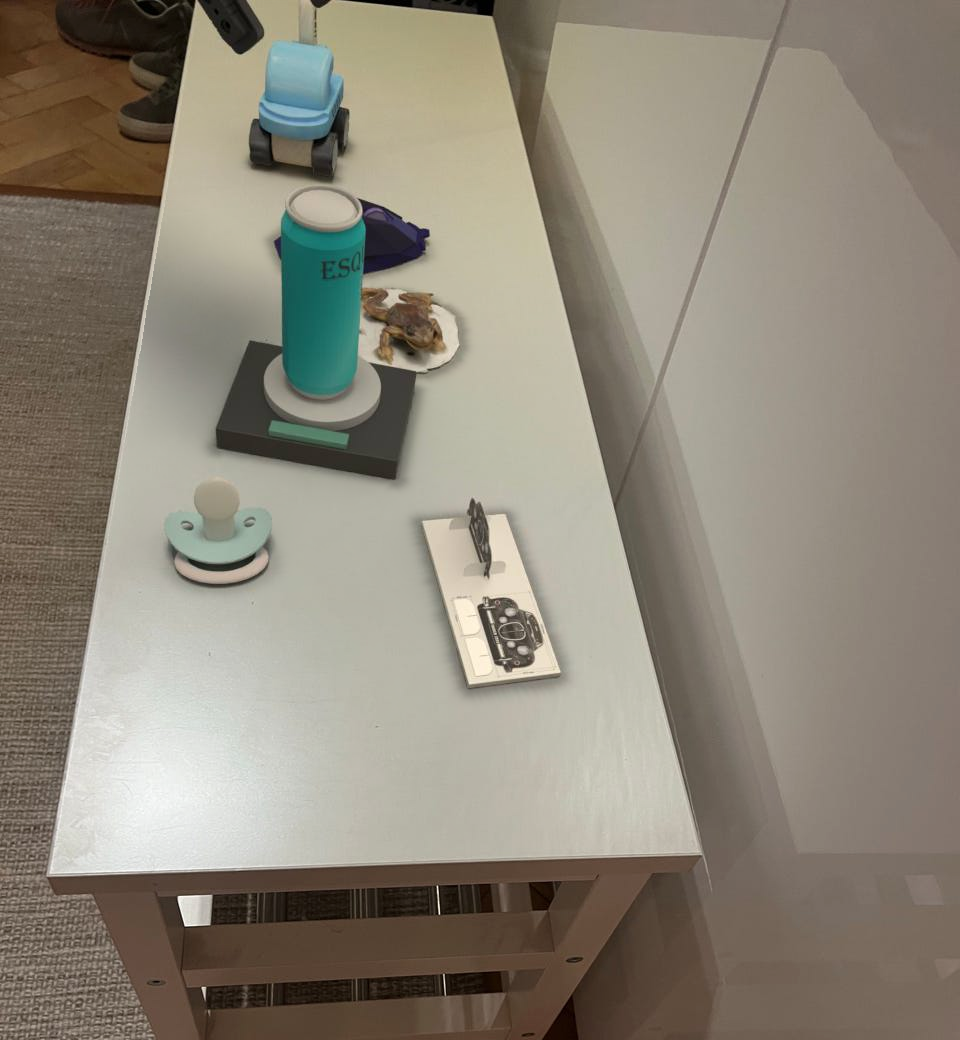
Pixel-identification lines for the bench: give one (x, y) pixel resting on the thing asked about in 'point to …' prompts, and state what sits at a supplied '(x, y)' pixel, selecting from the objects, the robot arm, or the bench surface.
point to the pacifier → (219, 534)
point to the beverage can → (321, 289)
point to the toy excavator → (301, 103)
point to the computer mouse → (386, 238)
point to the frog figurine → (405, 330)
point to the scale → (317, 416)
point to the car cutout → (489, 599)
